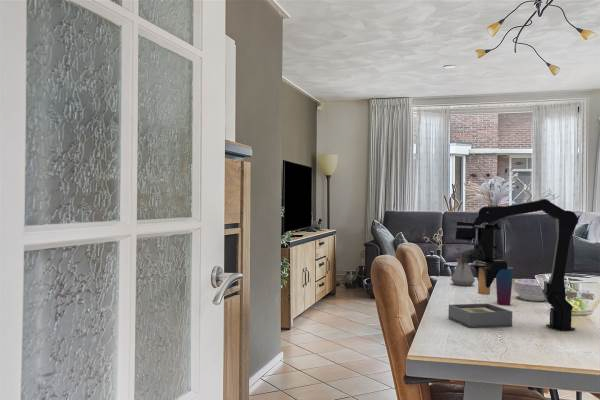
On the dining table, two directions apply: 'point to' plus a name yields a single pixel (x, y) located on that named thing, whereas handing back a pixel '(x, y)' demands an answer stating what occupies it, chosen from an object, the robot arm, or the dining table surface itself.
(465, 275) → the grey tied sack
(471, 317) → the socket tray
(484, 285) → the peg
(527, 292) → the paper bowls
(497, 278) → the cup
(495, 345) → the dining table surface
